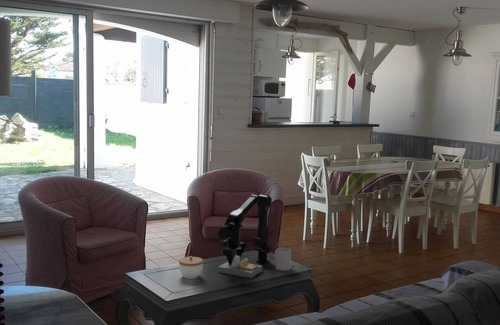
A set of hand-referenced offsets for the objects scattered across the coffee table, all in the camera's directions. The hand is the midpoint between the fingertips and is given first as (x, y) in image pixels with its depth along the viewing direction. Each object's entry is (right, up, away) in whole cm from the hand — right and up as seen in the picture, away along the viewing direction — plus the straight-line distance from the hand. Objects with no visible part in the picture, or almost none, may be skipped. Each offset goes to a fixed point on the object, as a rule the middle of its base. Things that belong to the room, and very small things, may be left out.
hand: (234, 263), depth 288 cm
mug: (+27, -4, +7) cm, 28 cm away
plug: (0, -4, 0) cm, 4 cm away
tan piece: (+8, -1, -4) cm, 9 cm away
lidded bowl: (-23, -5, -12) cm, 26 cm away
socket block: (+3, -4, -1) cm, 6 cm away
